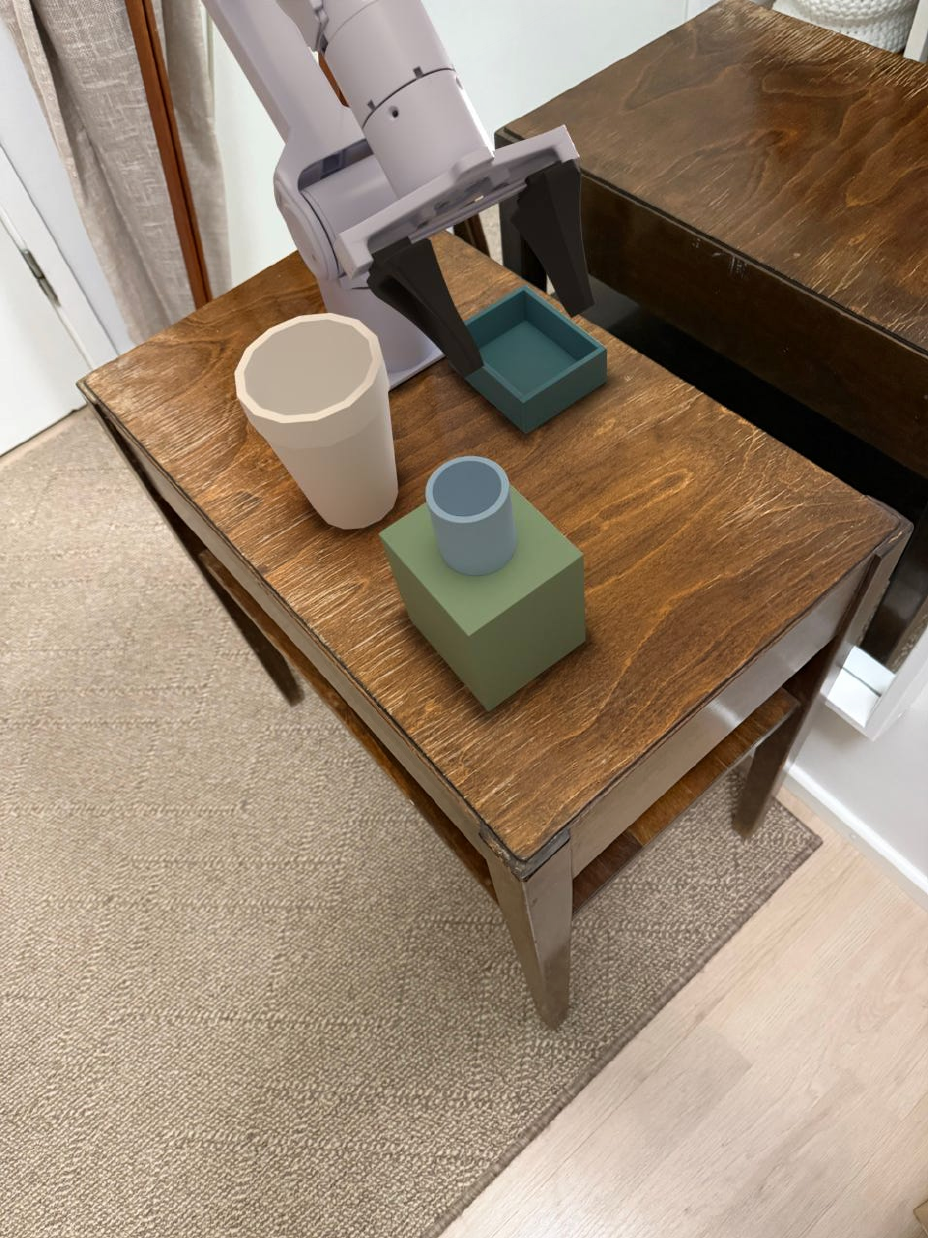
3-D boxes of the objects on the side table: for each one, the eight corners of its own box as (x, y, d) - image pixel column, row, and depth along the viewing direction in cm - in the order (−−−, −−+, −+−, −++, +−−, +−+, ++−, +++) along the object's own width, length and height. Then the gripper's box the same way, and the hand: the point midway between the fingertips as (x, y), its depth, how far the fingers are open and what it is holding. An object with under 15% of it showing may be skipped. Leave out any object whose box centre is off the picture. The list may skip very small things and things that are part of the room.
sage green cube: (409, 618, 60) (377, 533, 51) (502, 554, 61) (486, 461, 53) (488, 712, 56) (468, 636, 47) (586, 640, 57) (584, 554, 49)
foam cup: (354, 429, 69) (307, 294, 58) (443, 479, 66) (412, 346, 54) (270, 510, 66) (204, 384, 55) (359, 568, 62) (307, 446, 51)
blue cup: (425, 540, 51) (408, 485, 46) (485, 499, 51) (475, 441, 47) (469, 589, 48) (457, 536, 44) (532, 546, 49) (526, 490, 45)
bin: (450, 366, 71) (443, 333, 68) (527, 317, 73) (524, 283, 70) (526, 434, 67) (522, 403, 64) (607, 381, 68) (607, 348, 65)
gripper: (301, 121, 41) (443, 386, 44) (550, 10, 44) (666, 262, 47) (283, 183, 48) (407, 410, 50) (500, 83, 51) (605, 300, 54)
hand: (529, 341), depth 49 cm, fingers open, 7 cm apart
